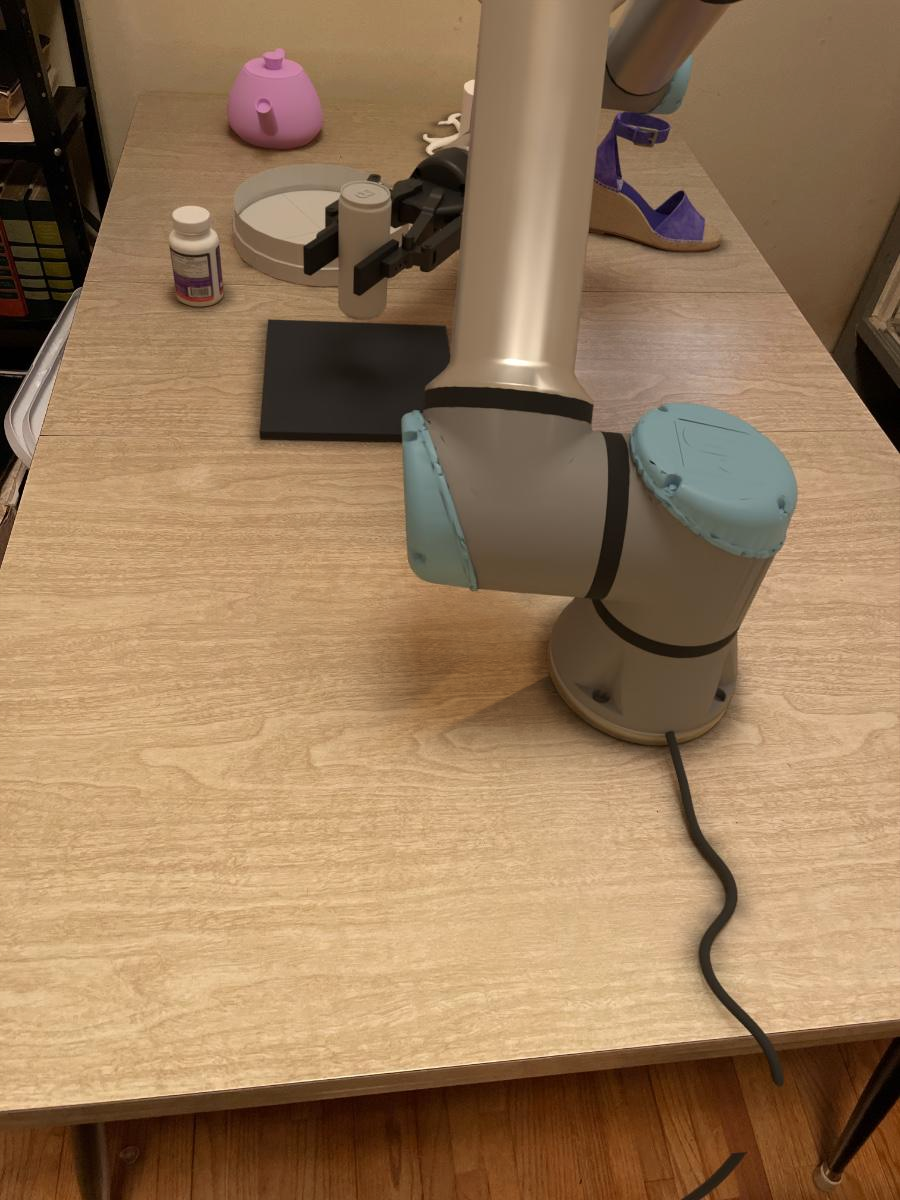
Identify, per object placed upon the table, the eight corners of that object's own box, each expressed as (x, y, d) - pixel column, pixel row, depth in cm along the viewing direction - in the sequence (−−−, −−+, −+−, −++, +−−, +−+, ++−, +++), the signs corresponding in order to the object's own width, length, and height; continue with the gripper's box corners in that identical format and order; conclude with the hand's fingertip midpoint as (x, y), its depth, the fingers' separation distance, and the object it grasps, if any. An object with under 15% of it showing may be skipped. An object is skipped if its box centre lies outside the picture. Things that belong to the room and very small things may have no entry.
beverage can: (396, 311, 96) (403, 194, 88) (361, 328, 94) (364, 209, 85) (362, 291, 98) (366, 175, 90) (327, 307, 96) (327, 189, 87)
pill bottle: (197, 278, 113) (188, 197, 106) (233, 293, 112) (227, 212, 105) (165, 297, 110) (154, 215, 103) (203, 313, 108) (194, 231, 101)
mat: (461, 443, 97) (462, 435, 96) (260, 439, 95) (259, 431, 94) (445, 332, 110) (446, 325, 110) (268, 326, 108) (267, 318, 107)
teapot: (216, 159, 134) (210, 77, 127) (238, 103, 148) (233, 26, 140) (316, 168, 135) (315, 88, 127) (328, 112, 149) (328, 36, 141)
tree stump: (573, 152, 147) (584, 97, 141) (489, 186, 137) (497, 127, 131) (477, 107, 155) (483, 53, 150) (391, 135, 145) (394, 78, 139)
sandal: (719, 262, 128) (756, 147, 117) (572, 234, 129) (595, 119, 118) (719, 234, 134) (755, 122, 122) (579, 208, 135) (601, 95, 124)
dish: (443, 263, 121) (447, 225, 117) (285, 303, 111) (284, 263, 108) (353, 188, 132) (354, 151, 129) (203, 219, 123) (200, 180, 119)
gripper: (526, 243, 103) (411, 341, 88) (385, 191, 108) (255, 276, 93) (537, 173, 97) (417, 265, 83) (388, 122, 102) (250, 201, 88)
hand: (331, 271), depth 88 cm, fingers closed on beverage can, 5 cm apart
